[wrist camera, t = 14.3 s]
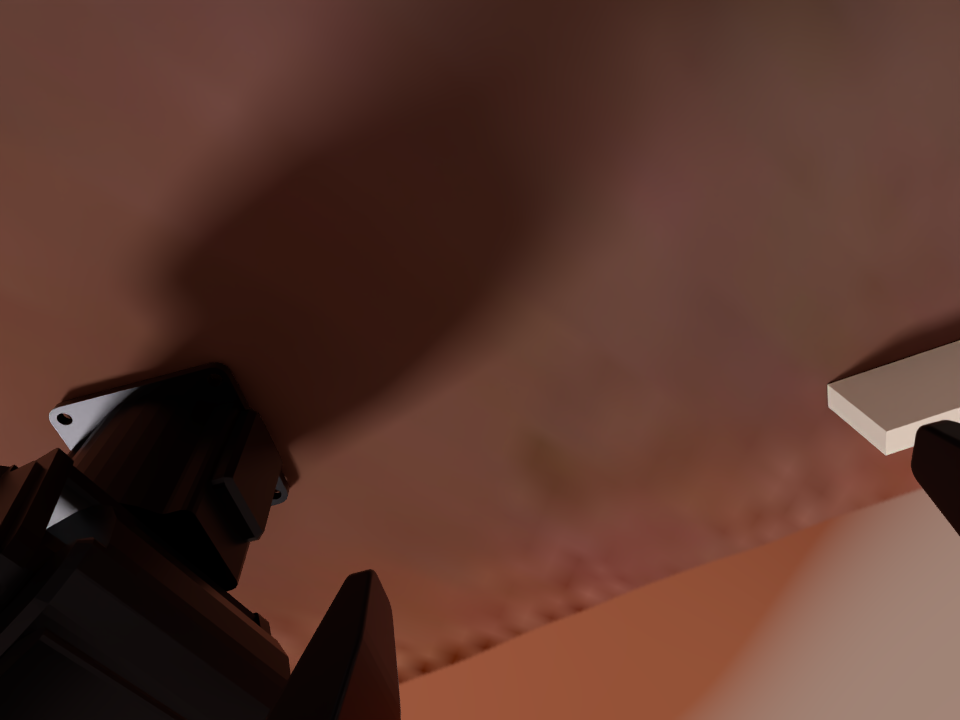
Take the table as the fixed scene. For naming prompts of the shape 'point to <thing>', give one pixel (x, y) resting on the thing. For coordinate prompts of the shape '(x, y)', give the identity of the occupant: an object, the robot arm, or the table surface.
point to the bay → (900, 397)
